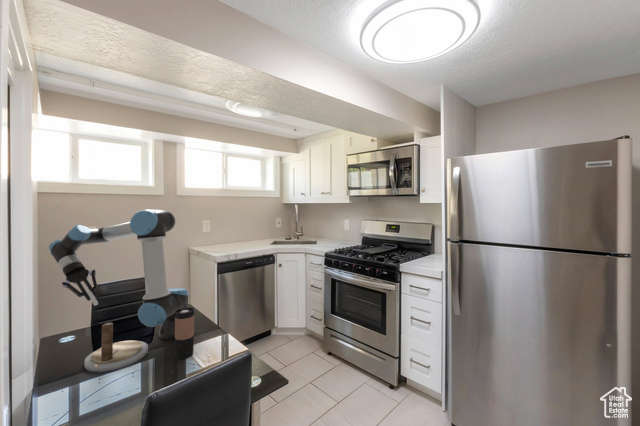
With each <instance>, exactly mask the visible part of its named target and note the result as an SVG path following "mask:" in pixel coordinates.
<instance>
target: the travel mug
mask: <svg viewBox="0 0 640 426" xmlns="http://www.w3.org/2000/svg"><path fill="white" fill-rule="evenodd" d="M194 340H195V308H194V307H188V308H186V309H178V310H176V311H175V339H174V356H175V357H174V358H175V359H176V360H178V361H182V360H184V361H185V360H186V359H187V358H188V359H189V357H190V358H192V357H193V356H194V346H195V345H194V343H195V341H194Z"/></svg>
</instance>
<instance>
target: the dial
mask: <svg viewBox="0 0 640 426" xmlns="http://www.w3.org/2000/svg"><path fill="white" fill-rule="evenodd" d="M113 338H114V323H113V322H106V323H104V324H101V346H100V348H98V349H96V350H95V352H94V351H93V352H94V353H93V352H92V353H93V354H92V355H91V361H92V362H94V363H100V364H103V363H112V362H117V361H121V360H124V359H127V358H129V357H131V356H133V355H135V354H137V353H138V352H140V351H141V350H142V348H143V344H142V342H143V341H141V342H140V340H123V341H121V340H120V341H118V342H117V341H116V342H113V341H114V339H113Z"/></svg>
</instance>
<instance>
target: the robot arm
mask: <svg viewBox="0 0 640 426" xmlns="http://www.w3.org/2000/svg"><path fill="white" fill-rule="evenodd" d="M175 225H176V218H175V216H174V214H173V213H172V212H170V211H168V210H166V209H152V208H151V209H142V210H141V209H140V210H138V211H137V212H135V213H134V215H132V216H131V219H130V220H129V221H128V222H124V223H123V222H122V223H119V224H114V225H108V226H105V227H104V226H103V227H100V228H91V229H90V228H89V227H87V226H85V225H82V224H77V225H75V226H73V227H72V229H70V230H69V231H68V233H67V234H66V235H64V237H63V238H62V239H57V240H55V241H53V242H51V243H50V244H49V246H48V250H49V252H50V254H51V256H52V257H53V258H54V260H55V262H56V263H57V265H58V266H59V268H60V269H61V271H62V273H63V274H64V276H65V281H63V282H61V285H62V287H63V288H67V289H68V290H69V291H71V292H72V293H73V294H74V295H76V296H77V297H79V298H81V297H84V298H85V299H86V300H87V302H89V301H90V302H91V303H92V304H93V306H97V305H99V302H98V300H97V297H98V295H97V292H96V291H97V290H98V289H99V287H98V283H97V279H96V273H97V272H96V270H95V269H92V270H89V269H87V268H86V266H84V264H83V263H82V261H81V260H80V258H79V257H78V254H77V253H76V252H77V251H78V249H80V247H81V246H83V245H88V244H89V245H90V244H98V243H99V244H101V243H102V244H103V243H107V242H111V241H115V240H119V239H123V238H124V239H125V238H127V237H128V238H129V237H132V236H136V238H137V240H138V241H139V242H140V243H141V251H142V261H143V263H142V265H143V272H144V274H143V275H144V283H145V284H144V285H145V294H144V295H143V297H142V305H140V307H139V308H138V311H137V317H138V319H139V321H140V323H142V324H143V325H144V326H146V327H149V328H154V327H157V326H160V328H159V329H158V330H159V331H158V337H159V338H160V339H163V340H174V339H173V338H175V311H176V310H178V309H186V308H189V291H188V289H187V288H184V287H183V288H182V287H181V288H180V287H178V288H177V287H176V288H168V287H167V275H166V274H167V273H166V263H165V261H166V260H165V252H164V250H165V249H164V239H165V238H166V237H167V235H166V233H168V232H170V231H171V230H173V228H174V227H175ZM89 276H90V277H91V280H92V283H93V286H92V285H91V283H90V281H89V280H88V277H89ZM82 282H83V283H84V284H85V286H86V287H87V289H88V290H89V291H86V289H85V287H84V285H83V284H82ZM71 283H73V284H76V286H77V287H78V288H79V290H80V291H79V290H78V289H77V288H76V287H74V286H73V285H72V284H71Z"/></svg>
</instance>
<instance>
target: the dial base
mask: <svg viewBox="0 0 640 426" xmlns="http://www.w3.org/2000/svg"><path fill="white" fill-rule="evenodd" d="M139 341H140V340H139ZM140 342H142V344H143V348H142V350H141V351H140V352H138V353H137V354H135V355H133V356H131V357H129V358H127V359H124V360H121V361H117V362H112V363H103V364H100V363H94V362H92V361H91V355H92V354H93V353H94V352H95V351H96V350H95V351H93V352H91V353H89V355H87V356H86V357H85V358H84V369H85V370H86V371H87V372H94V373H102V372H109V371H114V370H119V369H121V368H125V367H128V366H130V365H132V364H135V363H137V362H139V361H141V360H142V359H143V358H144V357H145V356H146V355H148V352H149V347H148V343H147V342H145V341H140Z"/></svg>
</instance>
